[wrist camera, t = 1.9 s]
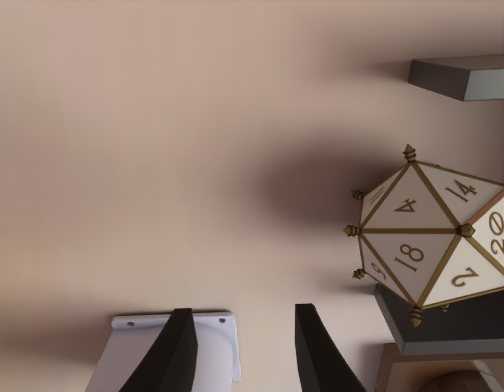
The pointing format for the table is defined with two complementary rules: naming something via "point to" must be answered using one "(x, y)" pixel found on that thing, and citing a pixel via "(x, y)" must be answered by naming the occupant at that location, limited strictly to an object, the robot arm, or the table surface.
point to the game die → (432, 235)
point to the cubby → (472, 309)
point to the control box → (440, 372)
